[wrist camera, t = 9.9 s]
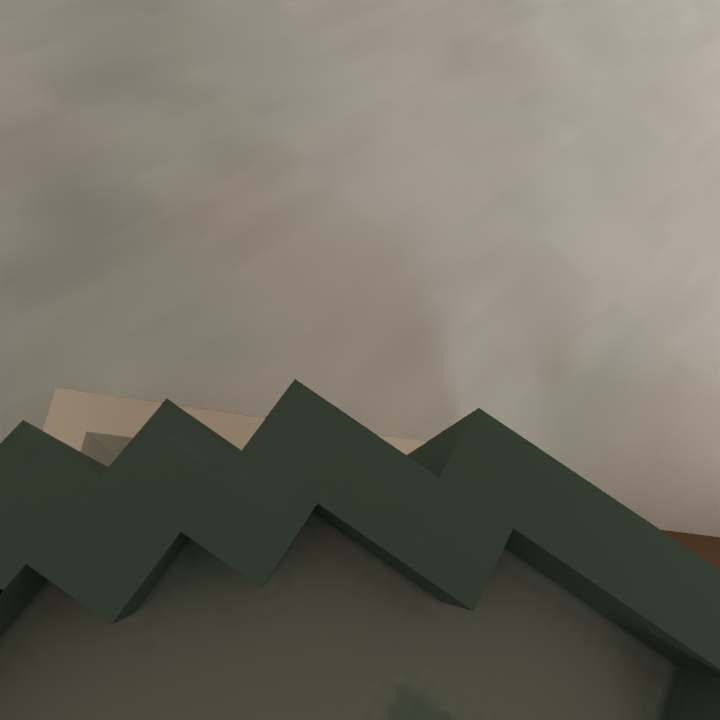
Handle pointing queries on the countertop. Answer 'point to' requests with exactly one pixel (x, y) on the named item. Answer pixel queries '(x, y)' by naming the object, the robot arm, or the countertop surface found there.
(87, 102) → the countertop surface
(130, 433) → the bin
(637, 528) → the can
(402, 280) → the countertop surface
